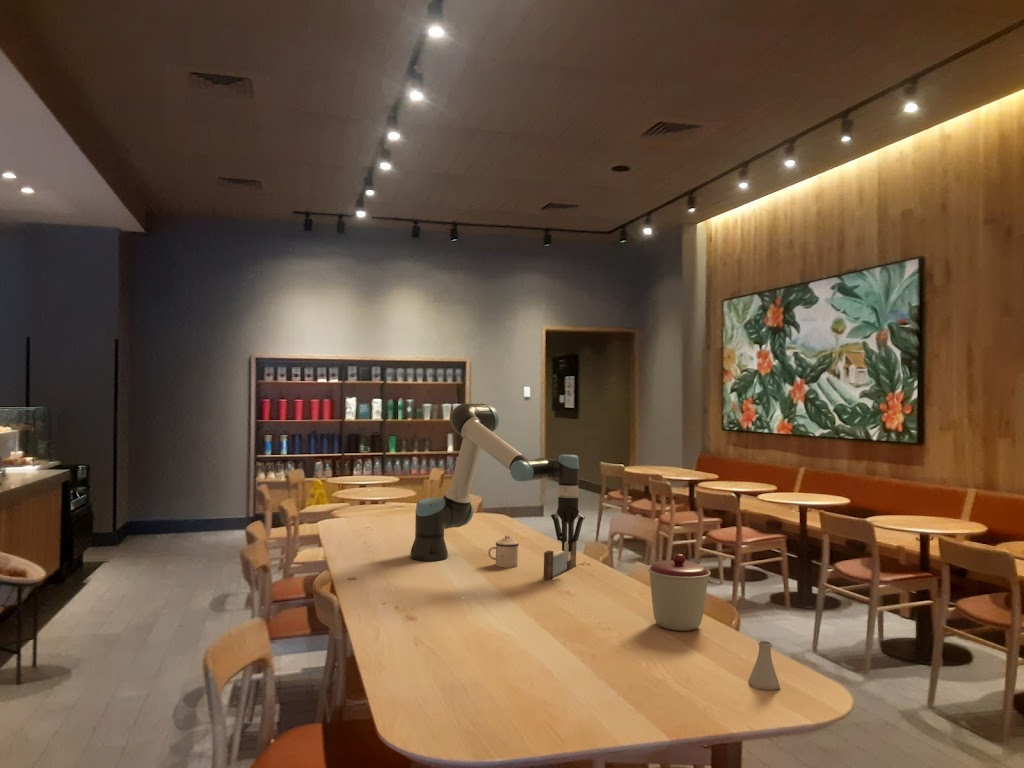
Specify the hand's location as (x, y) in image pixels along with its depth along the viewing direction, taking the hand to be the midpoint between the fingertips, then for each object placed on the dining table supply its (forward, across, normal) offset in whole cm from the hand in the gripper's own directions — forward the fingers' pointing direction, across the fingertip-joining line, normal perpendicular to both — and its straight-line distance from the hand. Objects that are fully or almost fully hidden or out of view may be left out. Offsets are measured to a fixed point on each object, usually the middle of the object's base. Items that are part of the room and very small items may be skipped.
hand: (567, 560), depth 283 cm
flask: (+7, +80, -77) cm, 111 cm away
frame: (+6, -4, +3) cm, 8 cm away
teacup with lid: (+6, -28, +3) cm, 29 cm away
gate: (+5, -4, +1) cm, 7 cm away
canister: (+7, +51, -41) cm, 66 cm away
